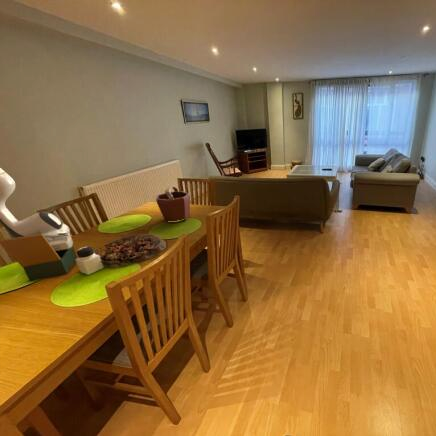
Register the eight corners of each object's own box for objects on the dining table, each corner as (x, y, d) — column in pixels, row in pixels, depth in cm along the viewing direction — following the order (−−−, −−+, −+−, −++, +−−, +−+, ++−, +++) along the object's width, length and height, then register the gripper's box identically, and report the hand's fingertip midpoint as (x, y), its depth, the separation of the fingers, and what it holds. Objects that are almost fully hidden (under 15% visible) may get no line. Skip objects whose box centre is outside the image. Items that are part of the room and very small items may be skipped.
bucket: (183, 225, 170) (177, 191, 161) (153, 225, 171) (144, 191, 161) (197, 213, 193) (192, 183, 183) (170, 213, 193) (163, 182, 184)
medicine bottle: (104, 267, 121) (96, 246, 117) (88, 275, 115) (79, 253, 111) (95, 264, 124) (88, 244, 119) (79, 271, 118) (71, 250, 113)
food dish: (89, 277, 115) (83, 264, 112) (99, 249, 141) (94, 238, 138) (169, 256, 131) (165, 243, 128) (164, 234, 157) (161, 223, 154)
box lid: (-2, 240, 97) (-3, 241, 97) (42, 233, 103) (41, 235, 102) (22, 265, 108) (21, 266, 108) (60, 258, 113) (60, 259, 113)
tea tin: (44, 264, 124) (38, 251, 121) (77, 258, 129) (72, 245, 126) (29, 281, 111) (22, 267, 108) (66, 273, 116) (61, 260, 113)
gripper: (18, 240, 114) (1, 253, 103) (72, 232, 122) (62, 244, 111) (24, 251, 117) (8, 266, 105) (77, 243, 125) (67, 255, 113)
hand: (36, 254), depth 108 cm, fingers closed, pressing on box lid
